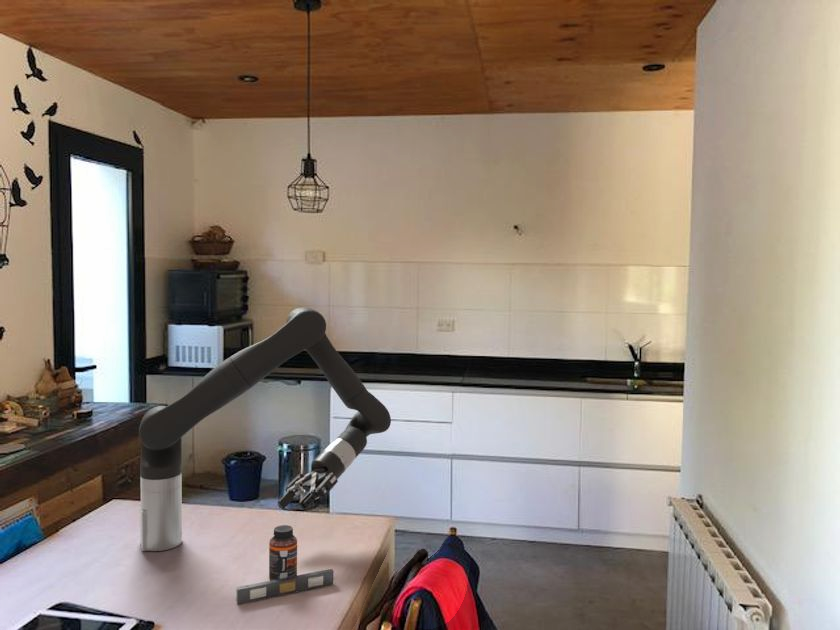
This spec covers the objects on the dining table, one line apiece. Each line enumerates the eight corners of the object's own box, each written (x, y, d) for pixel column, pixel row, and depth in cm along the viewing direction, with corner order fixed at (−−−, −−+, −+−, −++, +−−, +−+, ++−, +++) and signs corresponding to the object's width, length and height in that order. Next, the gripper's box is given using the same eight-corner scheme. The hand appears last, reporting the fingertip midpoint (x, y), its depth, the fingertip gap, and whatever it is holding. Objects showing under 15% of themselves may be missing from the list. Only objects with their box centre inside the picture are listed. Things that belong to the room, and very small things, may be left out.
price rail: (237, 605, 130) (237, 590, 130) (236, 601, 131) (236, 587, 131) (333, 585, 139) (334, 571, 139) (331, 582, 140) (331, 568, 140)
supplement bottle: (290, 587, 138) (290, 534, 137) (264, 584, 139) (264, 532, 138) (301, 574, 143) (301, 524, 143) (275, 571, 145) (275, 521, 144)
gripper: (309, 449, 167) (265, 493, 156) (344, 448, 158) (299, 494, 147) (324, 472, 169) (281, 517, 158) (359, 472, 160) (316, 520, 149)
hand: (290, 506), depth 153 cm, fingers open, 8 cm apart
